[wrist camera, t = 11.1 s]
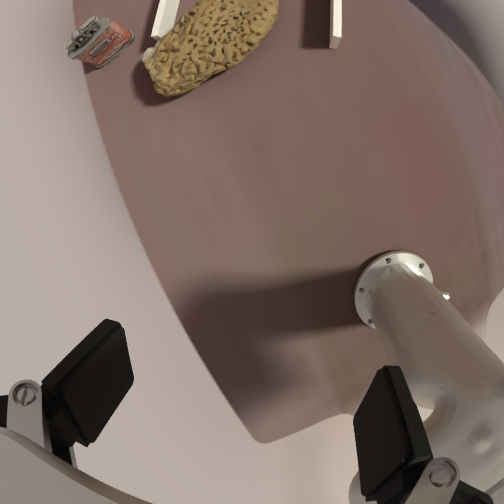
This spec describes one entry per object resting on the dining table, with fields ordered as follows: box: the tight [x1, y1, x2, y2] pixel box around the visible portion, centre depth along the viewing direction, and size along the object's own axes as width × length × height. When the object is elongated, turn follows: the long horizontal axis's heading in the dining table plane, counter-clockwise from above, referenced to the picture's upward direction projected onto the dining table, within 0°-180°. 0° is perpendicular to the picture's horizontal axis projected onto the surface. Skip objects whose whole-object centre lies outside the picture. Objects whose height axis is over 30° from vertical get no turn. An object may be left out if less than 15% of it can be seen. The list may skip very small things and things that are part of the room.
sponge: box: [142, 0, 278, 97], centre depth 26 cm, size 13×8×20 cm
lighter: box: [64, 16, 135, 68], centre depth 26 cm, size 8×3×10 cm, turn 119°
